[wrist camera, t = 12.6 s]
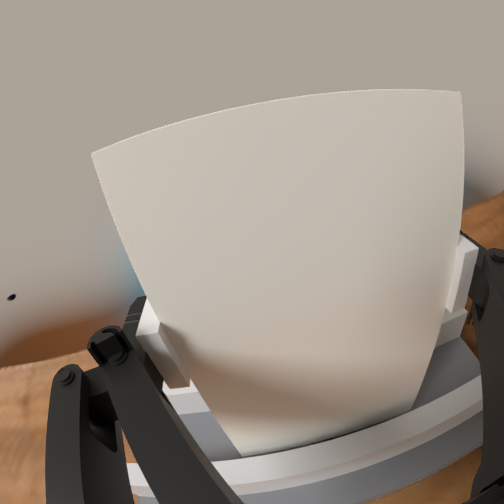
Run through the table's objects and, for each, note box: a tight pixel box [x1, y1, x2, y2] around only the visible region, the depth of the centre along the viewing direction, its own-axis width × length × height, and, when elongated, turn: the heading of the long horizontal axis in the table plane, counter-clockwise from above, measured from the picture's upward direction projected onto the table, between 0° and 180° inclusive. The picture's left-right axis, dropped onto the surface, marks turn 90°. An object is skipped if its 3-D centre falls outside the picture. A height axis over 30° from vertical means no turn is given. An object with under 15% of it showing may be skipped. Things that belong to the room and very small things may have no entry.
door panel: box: [91, 89, 464, 457], centre depth 12 cm, size 10×4×16 cm, turn 97°
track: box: [126, 308, 483, 504], centre depth 15 cm, size 24×12×4 cm, turn 97°
